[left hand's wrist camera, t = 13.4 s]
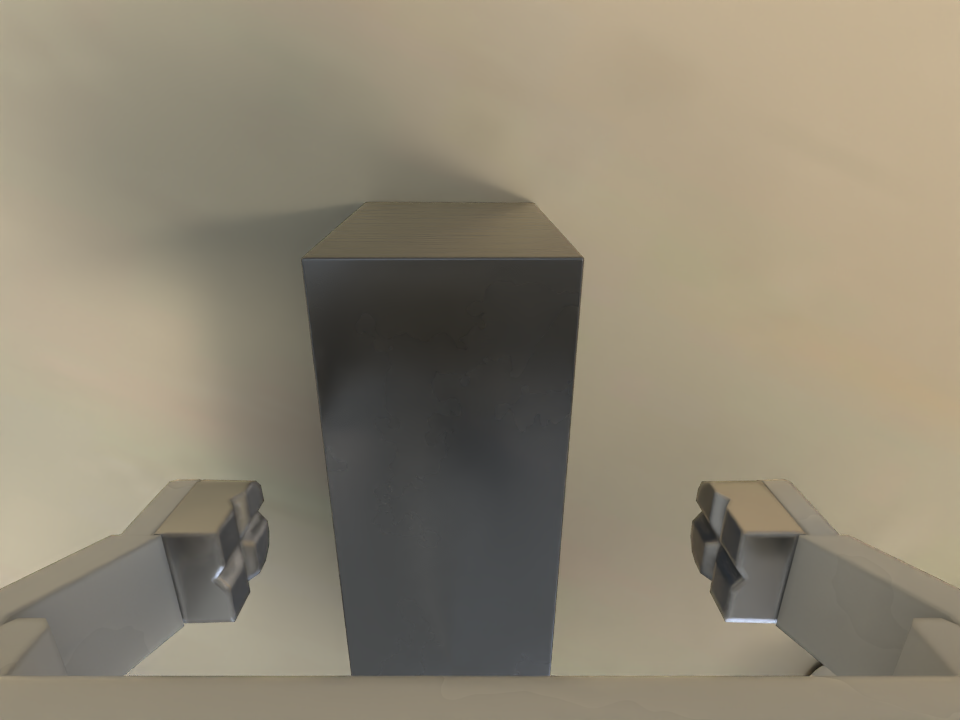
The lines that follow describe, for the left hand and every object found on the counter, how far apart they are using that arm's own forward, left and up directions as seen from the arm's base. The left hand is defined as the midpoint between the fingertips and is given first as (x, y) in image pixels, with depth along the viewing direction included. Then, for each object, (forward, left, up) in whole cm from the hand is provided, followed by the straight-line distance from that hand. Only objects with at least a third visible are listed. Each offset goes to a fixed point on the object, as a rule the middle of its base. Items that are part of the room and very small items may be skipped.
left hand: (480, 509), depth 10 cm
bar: (+5, +5, -10) cm, 12 cm away
